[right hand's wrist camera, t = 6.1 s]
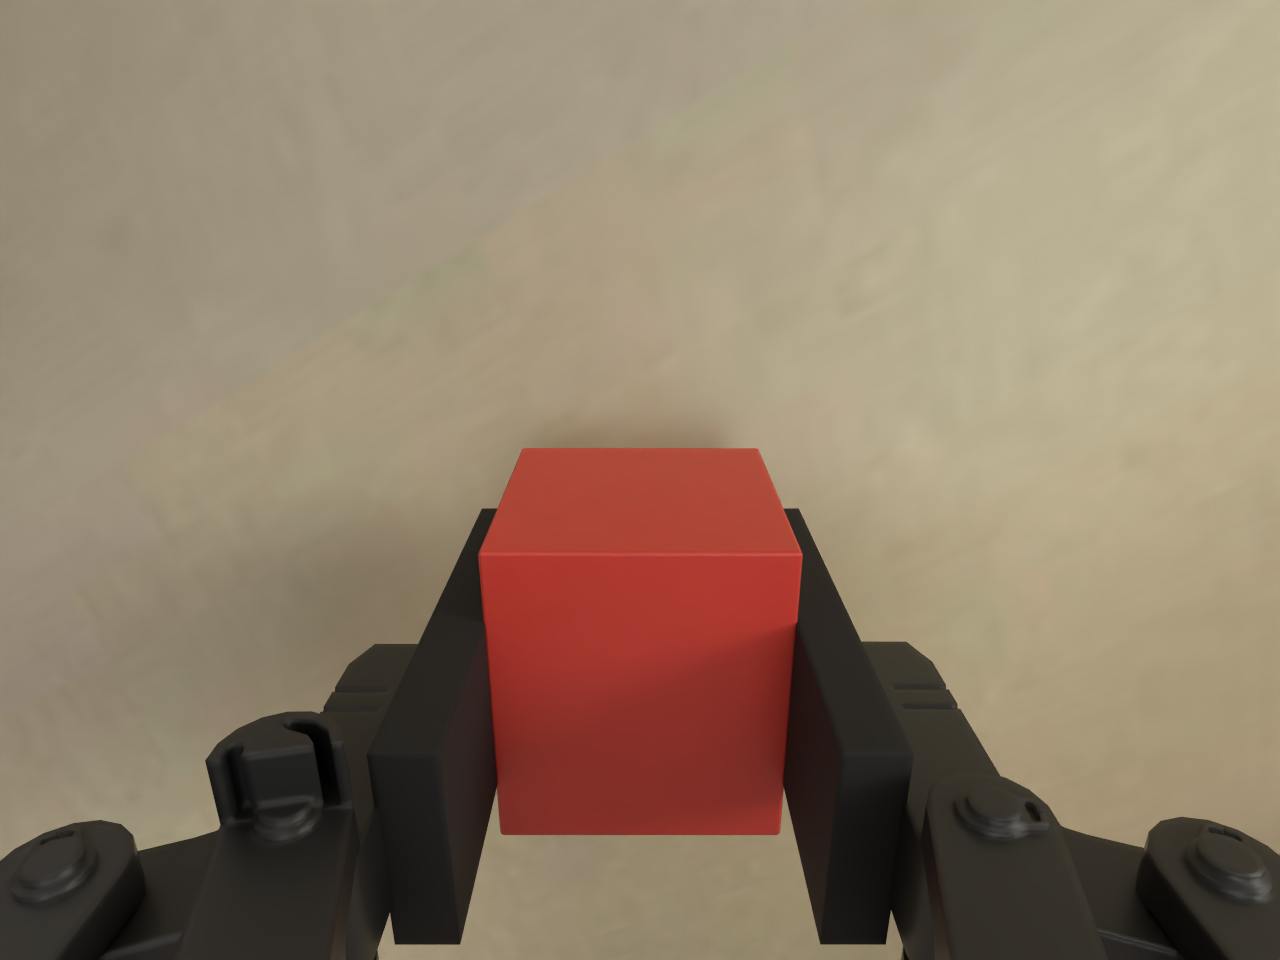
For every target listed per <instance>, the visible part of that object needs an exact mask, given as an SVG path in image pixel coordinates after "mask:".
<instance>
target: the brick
mask: <svg viewBox="0 0 1280 960" xmlns="http://www.w3.org/2000/svg"><path fill="white" fill-rule="evenodd" d="M478 558H479V571H480V583H481V596H482V608H483V620H484V624H485V636H486V648H487V661H488V673H489V686H490V698H491V711H492V723H493V735H494V748H495V760H496V773H497V795H498V807H499V820H500V831H501V834H503V835H778V834H779V833H780V826H781V814H782V802H783V790H784V786H783V780H784V768H785V755H786V743H787V731H788V718H789V706H790V693H791V681H792V669H793V656H794V644H795V632H796V623H797V619H798V606H799V594H800V582H801V570H802V558H803V554H802V552H801V549H800V547H799V545H798V542H797V540H796V537H795V535H794V533H793V530H792V528H791V526H790V523H789V521H788V519H787V516H786V514H785V512H784V509H783V507H782V504H781V502H780V500H779V497H778V495H777V493H776V490H775V488H774V486H773V483H772V481H771V478H770V476H769V474H768V471H767V469H766V467H765V464H764V462H763V460H762V457H761V455H760V452H759V450H758V449H691V448H524V449H522V452H521V454H520V456H519V459H518V461H517V464H516V466H515V468H514V471H513V473H512V475H511V478H510V480H509V483H508V485H507V487H506V490H505V492H504V494H503V497H502V499H501V502H500V504H499V506H498V509H497V511H496V513H495V516H494V518H493V520H492V523H491V525H490V528H489V530H488V532H487V535H486V537H485V539H484V542H483V544H482V547H481V549H480V551H479V554H478Z"/></svg>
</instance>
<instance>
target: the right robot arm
mask: <svg viewBox="0 0 1280 960" xmlns="http://www.w3.org/2000/svg"><path fill="white" fill-rule="evenodd" d="M496 511H497V509H482V510H481V512H480V514H479V516H478V518H477V520H476V523H475V525H474V527H473V529H472V531H471V533H470V535H469V537H468V540H467V542H466V544H465V546H464V548H463V550H462V552H461V554H460V557H459V559H458V561H457V563H456V565H455V567H454V569H453V571H452V574H451V576H450V578H449V580H448V582H447V584H446V586H445V588H444V591H443V593H442V595H441V597H440V599H439V601H438V603H437V605H436V608H435V610H434V612H433V614H432V616H431V618H430V620H429V622H428V625H427V627H426V629H425V631H424V633H423V635H422V637H421V639H420V642H419V644H374V645H373V646H372V647H371V648H369V649H368V650H367V651H365V652H364V653H363V654H362V655H360V656H359V657H358V658H356V659H355V660H354V661H352V662H351V663H350V664H349V665H348V667H347V668H346V670H345V672H344V673H343V675H342V677H341V679H340V680H339V682H338V684H337V685H336V687H335V692H332V694H331V695H330V697H329V699H328V700H327V702H326V704H325V706H324V711H323V712H320V714H318V713H315V712H285V713H280V714H276V715H272V716H267V717H263V718H260V719H258V720H256V721H254V722H251V723H249V724H247V725H245V726H242V727H240V728H238V729H237V730H235V731H234V732H232V733H231V734H230V735H228V736H227V737H226V738H224V739H223V740H222V741H220V742H219V743H218V744H217V745H216V747H215V748H214V749H213V751H212V752H211V754H210V755H209V756H208V758H207V759H206V760H205V761H206V766H207V770H208V774H209V778H210V782H211V787H212V791H213V795H214V799H215V803H216V807H217V812H218V816H219V820H220V824H221V825H220V828H219V830H217V831H215V832H211V833H208V834H205V835H202V836H199V837H195V838H192V839H187V840H183V841H179V842H175V843H171V844H166V845H162V846H158V847H154V848H149V849H145V850H141V851H137V848H136V844H135V841H134V837H133V835H132V834H131V833H130V832H129V831H128V830H127V829H126V828H125V827H124V826H122V825H121V824H117V823H112V822H107V821H102V820H98V821H89V822H80V823H73V824H70V825H67V826H64V827H61V828H58V829H55V830H52V831H49V832H46V833H43V834H42V835H40V836H38V837H36V838H34V839H33V840H31V841H29V842H27V843H25V844H23V845H22V846H20V847H18V848H16V849H14V850H13V851H12V852H11V853H9V854H8V855H7V856H6V857H5V858H3V859H2V860H1V861H0V960H379V957H378V951H377V949H378V946H379V943H380V940H381V937H382V934H383V931H384V928H385V925H386V922H387V919H388V916H389V913H390V914H391V921H392V928H393V934H394V941H395V944H460V943H461V938H462V934H463V930H464V925H465V921H466V917H467V912H468V908H469V904H470V900H471V895H472V891H473V887H474V882H475V878H476V874H477V870H478V865H479V861H480V857H481V852H482V848H483V844H484V840H485V835H486V831H487V827H488V822H489V818H490V814H491V810H492V805H493V801H494V797H495V792H496V788H497V773H496V760H495V748H494V735H493V723H492V711H491V698H490V686H489V673H488V661H487V648H486V636H485V624H484V620H483V608H482V596H481V583H480V571H479V558H478V554H479V551H480V549H481V547H482V544H483V542H484V539H485V537H486V535H487V532H488V530H489V528H490V525H491V523H492V520H493V518H494V516H495V513H496ZM784 512H785V514H786V516H787V519H788V521H789V523H790V526H791V528H792V530H793V533H794V535H795V537H796V540H797V542H798V545H799V547H800V549H801V552H802V554H803V558H802V570H801V582H800V594H799V606H798V619H797V623H796V632H795V644H794V656H793V669H792V681H791V693H790V706H789V718H788V731H787V743H786V755H785V768H784V780H783V786H784V790H785V794H786V798H787V803H788V807H789V811H790V816H791V820H792V824H793V828H794V833H795V837H796V841H797V846H798V850H799V854H800V858H801V863H802V867H803V871H804V876H805V880H806V884H807V888H808V893H809V897H810V901H811V906H812V910H813V914H814V918H815V923H816V927H817V931H818V936H819V940H820V944H886V938H887V932H888V925H889V918H890V912H891V910H892V913H893V916H894V919H895V922H896V925H897V928H898V931H899V934H900V937H901V940H902V943H903V951H902V957H901V960H1280V856H1279V855H1278V854H1277V853H1275V852H1274V851H1273V850H1272V849H1270V848H1269V847H1268V846H1266V845H1265V844H1263V843H1261V842H1259V841H1257V840H1255V839H1254V838H1252V837H1250V836H1248V835H1246V834H1244V833H1243V832H1241V831H1239V830H1236V829H1233V828H1230V827H1227V826H1224V825H1221V824H1218V823H1215V822H1212V821H1209V820H1203V819H1194V818H1186V817H1179V818H1174V819H1168V820H1163V821H1160V822H1159V823H1158V824H1157V825H1156V826H1155V827H1154V828H1153V829H1152V830H1150V831H1149V833H1148V837H1147V840H1146V844H1145V847H1144V848H1141V847H1136V846H1132V845H1128V844H1124V843H1119V842H1115V841H1111V840H1107V839H1103V838H1098V837H1094V836H1090V835H1086V834H1083V833H1080V832H1076V831H1073V830H1070V829H1067V828H1064V827H1062V826H1060V824H1059V822H1058V821H1057V819H1056V818H1055V816H1054V814H1053V813H1052V811H1051V810H1050V808H1049V806H1048V805H1047V804H1045V803H1044V802H1043V801H1042V800H1041V799H1040V798H1038V797H1037V796H1036V795H1035V794H1034V793H1032V792H1031V791H1030V790H1029V789H1027V788H1025V787H1023V786H1021V785H1019V784H1017V783H1015V782H1013V781H1011V780H1009V779H1007V778H1004V777H1001V776H1000V775H999V773H998V771H997V770H996V768H995V766H994V765H993V763H992V761H991V760H990V758H989V756H988V755H987V753H986V751H985V750H984V748H983V746H982V745H981V743H980V741H979V740H978V738H977V736H976V735H975V733H974V731H973V730H972V728H971V726H970V725H969V723H968V721H967V720H966V718H965V716H964V714H963V713H962V711H961V709H958V708H957V703H956V701H955V699H954V698H953V696H952V694H951V693H950V691H949V690H946V684H945V683H944V681H943V679H942V678H941V676H940V674H939V673H938V671H937V669H936V668H935V666H934V664H933V663H932V661H930V660H929V659H928V658H927V657H925V656H924V655H923V654H921V653H920V652H919V651H917V650H916V649H915V648H914V647H912V646H911V645H910V644H908V643H907V642H861V640H860V638H859V636H858V634H857V632H856V630H855V627H854V625H853V623H852V621H851V619H850V617H849V615H848V613H847V611H846V608H845V606H844V604H843V602H842V600H841V598H840V596H839V594H838V591H837V589H836V587H835V585H834V583H833V581H832V579H831V577H830V574H829V572H828V570H827V568H826V566H825V564H824V562H823V560H822V557H821V555H820V553H819V551H818V549H817V547H816V545H815V543H814V540H813V538H812V536H811V534H810V532H809V530H808V528H807V526H806V523H805V521H804V519H803V517H802V515H801V513H800V511H799V509H784Z"/></svg>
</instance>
